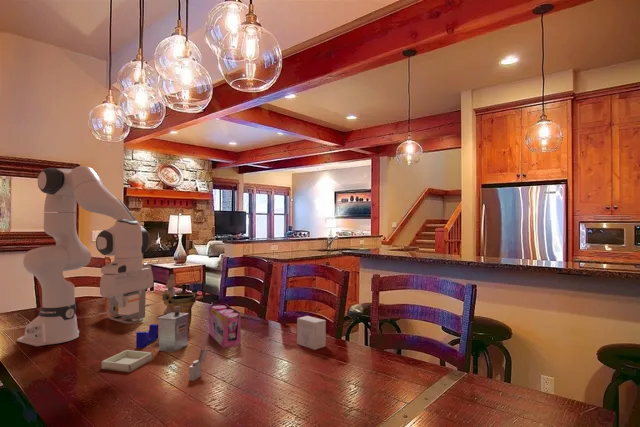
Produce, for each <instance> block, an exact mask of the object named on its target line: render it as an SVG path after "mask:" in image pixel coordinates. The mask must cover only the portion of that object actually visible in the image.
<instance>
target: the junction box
mask: <svg viewBox="0 0 640 427" xmlns="http://www.w3.org/2000/svg"><path fill="white" fill-rule="evenodd" d="M188 315H189V313H180V306H175V312H171V313H167V314H164V315H162V316H158V317H157V320H158V351H160V352H166V353H167V352H168V353H169V352H170V353H177V352H179V351H180V350H181V349H183V348H185V347H187V346H188V336H189V335H188V334H189V333H188V331H189V330H188Z"/></svg>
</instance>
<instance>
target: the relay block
mask: <svg viewBox="0 0 640 427" xmlns="http://www.w3.org/2000/svg"><path fill="white" fill-rule="evenodd" d="M122 300H123V302H125V303H126V304H125V305H126V306H125V307H123V308H119V307H118V314H123V315H130V314H133V313H137V312H139V292H137V291H135V292H130V293H126V294H123V298H122Z"/></svg>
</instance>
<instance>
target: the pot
mask: <svg viewBox="0 0 640 427" xmlns="http://www.w3.org/2000/svg"><path fill="white" fill-rule="evenodd" d="M197 295H198V294H197V292H196V291H194V292H193V293H190V294H177V295H176V294H175V296H172V297H170V295H169V293H164V294H163V296H162V299H163V300H162V299H161V300H162V301H163V304H164V305H169V306H170V308H171V310H172V312H175V306H180V313H189V315H188V331H189V330H190V326H191V323H192V308H193V306H194V304H195V303H196V301H197V298H198V297H197Z"/></svg>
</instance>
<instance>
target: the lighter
mask: <svg viewBox="0 0 640 427" xmlns="http://www.w3.org/2000/svg"><path fill="white" fill-rule="evenodd" d="M207 353H208V349H207V348H201V349H200V350H199V354H198V358H197V359H196V360H194V361H193V362H192V365H190V366H189V368H188V370H189V372H188V374H189V376H188V377H189V378H188V380H189V381H190V382H191V381H193V382H194V381H196V380H197V379H199V378H200V377H202V366H203V365H202V364H204V363H205V361H206V357H207Z"/></svg>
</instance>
